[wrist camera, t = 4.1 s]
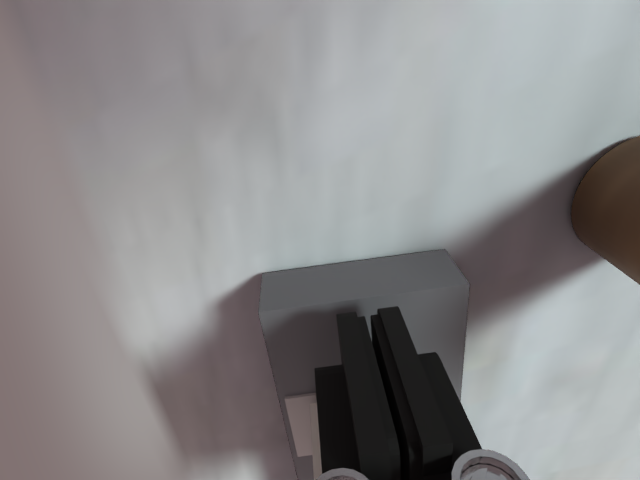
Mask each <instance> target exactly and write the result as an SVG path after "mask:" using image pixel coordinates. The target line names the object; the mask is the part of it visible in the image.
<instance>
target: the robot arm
mask: <svg viewBox="0 0 640 480" xmlns="http://www.w3.org/2000/svg"><path fill="white" fill-rule="evenodd" d="M370 318H371V335H372V341H371V337H370V334H369V330H368V326H367V322H366V319H365V316H361V317H357V313H356V312H349V313H342V314H336V319H337V327H338V336H339V345H340V353H341V362H342V365H334V366H327V367H319V368H315V370H314V371H315V385H316V399H317V412H318V425H319V439H320V452H321V465H322V474H321V475H320V476H319V477H318V478H317V479H316V480H530V479H529V478H528V476H527V475H526V474H525V472H524V471H523V470H522V469H521V468H520V467H519V466H518V465H517V464H516V463H515V462H514V461H512V460H511V459H509V458H508V457H506V456H505V455H502V454H500V453H497V452H495V451H491V450H485V449H482V448H481V446H480V444H479V441H478V439H477V437H476V435H475V433H474V431H473V428H472V426H471V424H470V422H469V420H468V418H467V415H466V413H465V411H464V409H463V407H462V405H461V402H460V400H459V398H458V396H457V394H456V392H455V389H454V387H453V385H452V383H451V381H450V379H449V376H448V374H447V372H446V370H445V368H444V366H443V363H442V361H441V359H440V357H439V356H438V354H437V353H436V352H432V353H424V354H417V351H416V349H415V346H414V344H413V341H412V339H411V336H410V334H409V331H408V329H407V326H406V324H405V321H404V319H403V316H402V314H401V311H400V309H399V307H398V306H395V307H387V308H380V309H377V314H376V315H371V317H370Z"/></svg>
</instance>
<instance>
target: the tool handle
mask: <svg viewBox="0 0 640 480" xmlns="http://www.w3.org/2000/svg"><path fill="white" fill-rule="evenodd" d="M571 219H572V225H573V228H574V231H575V233H576V235H577V236H578V237H579V239H580V240H581V241H582V242H583V243H584V244H585V245H587V246H588V247H589V248H591V249H592V250H593V251H595V252H596V253H598V254H599V255H600V256H602V257H603V258H604V259H606V260H607V261H608V262H610V263H611V264H612V265H614V266H615V267H616V268H618V269H619V270H621V271H622V272H623V273H625V274H626V275H627V276H629V277H630V278H631V279H633V280H634V281H635V282H637V283H638V284H640V136H638V137H635V138H632V139H630V140H628V141H625V142H623V143H621V144H620V145H618V146H616V147H615V148H613V149H612V150H610V151H609V152H608V153H606V154H605V155H604V156H602V157H601V158H600V159H599V160H598V161H597V162H596V163H595V164H594V165H593V166H592V167H591V168H590V170H589V171H588V172H587V174H586V175H585V176H584V178H583V179H582V181H581V183H580V184H579V186H578V189H577V191H576V193H575V196H574V199H573V203H572V208H571Z"/></svg>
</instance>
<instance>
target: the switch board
mask: <svg viewBox="0 0 640 480" xmlns="http://www.w3.org/2000/svg"><path fill="white" fill-rule="evenodd" d="M469 287H470V284H469V282H468V281H467V279H466V278H465V276H464V275H463V274H462V272H461V271H460V269H459V268H458V267H457V265H456V264H455V262H454V261H453V259H452V258H451V257H450V255H449V254H448V252H447V251H446V249H442V250H435V251H427V252H420V253H412V254H405V255H397V256H390V257H382V258H375V259H367V260H360V261H352V262H345V263H337V264H330V265H322V266H315V267H307V268H300V269H292V270H285V271H277V272H270V273H262V282H261V291H260V300H259V309H258V314H259V318H260V322H261V326H262V330H263V335H264V339H265V343H266V347H267V351H268V356H269V360H270V364H271V368H272V372H273V377H274V381H275V385H276V389H277V393H278V398H279V402H280V406H281V410H282V414H283V419H284V423H285V427H286V431H287V435H288V440H289V444H290V448H291V452H292V456H293V461H294V465H295V469H296V473H297V478H298V480H314V473H313V454H312V435H311V417H310V404H312V403H317V399H316V385H315V371H314V370H315V368H319V367H327V366H334V365H342V362H341V353H340V345H339V336H338V327H337V319H336V314H342V313H349V312H356V313H357V317H361V316H365V319H366V322H367V326H368V330H369V334H370V337H371V341H372V335H371V318H370V317H371V315H376V314H377V309H380V308H387V307H395V306H398V307H399V309H400V311H401V314H402V316H403V319H404V321H405V324H406V326H407V329H408V331H409V334H410V336H411V339H412V341H413V344H414V346H415V349H416V351H417V354H424V353H432V352H436V353H437V354H438V356H439V357H440V359H441V361H442V363H443V366H444V368H445V370H446V372H447V374H448V376H449V379H450V381H451V383H452V385H453V387H454V389H455V392H456V394H457V396H458V398H459V400H461V388H462V375H463V362H464V350H465V337H466V325H467V312H468V300H469Z"/></svg>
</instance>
